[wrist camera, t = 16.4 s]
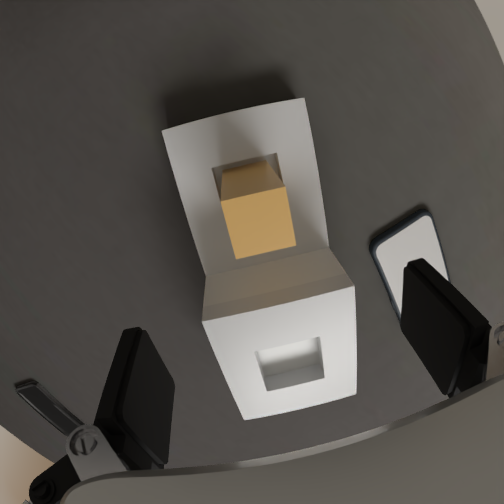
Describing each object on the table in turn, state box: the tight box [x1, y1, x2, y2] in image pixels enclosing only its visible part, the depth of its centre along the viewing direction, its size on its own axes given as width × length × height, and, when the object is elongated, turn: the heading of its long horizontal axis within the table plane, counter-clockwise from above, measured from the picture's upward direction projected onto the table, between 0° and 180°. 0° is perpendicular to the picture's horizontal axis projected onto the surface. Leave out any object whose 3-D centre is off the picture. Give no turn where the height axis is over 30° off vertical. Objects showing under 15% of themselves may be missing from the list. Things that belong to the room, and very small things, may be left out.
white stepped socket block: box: [162, 98, 357, 420], centre depth 28 cm, size 28×12×10 cm, turn 13°
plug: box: [220, 160, 296, 259], centre depth 24 cm, size 4×4×10 cm
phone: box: [16, 381, 85, 436], centre depth 43 cm, size 8×1×15 cm
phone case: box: [369, 209, 451, 322], centre depth 36 cm, size 9×2×16 cm
